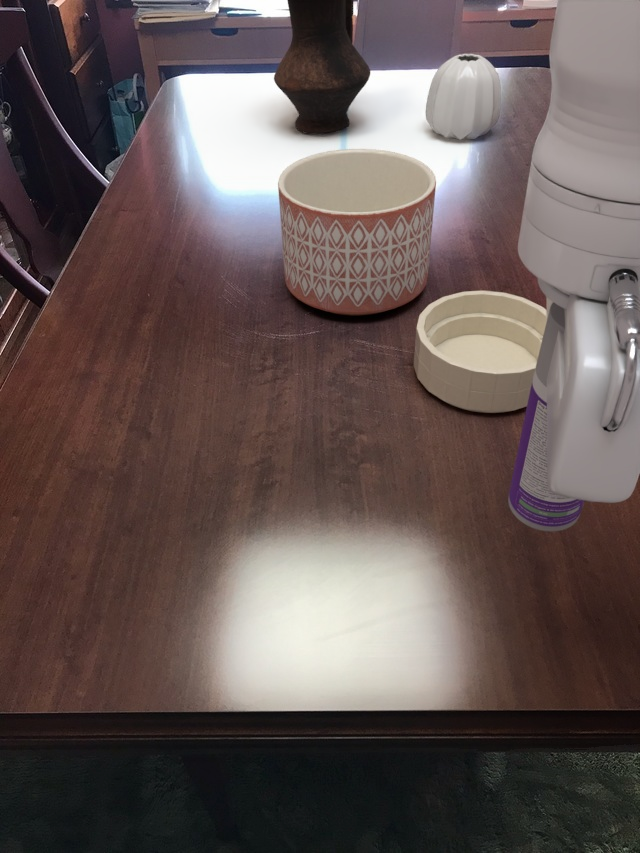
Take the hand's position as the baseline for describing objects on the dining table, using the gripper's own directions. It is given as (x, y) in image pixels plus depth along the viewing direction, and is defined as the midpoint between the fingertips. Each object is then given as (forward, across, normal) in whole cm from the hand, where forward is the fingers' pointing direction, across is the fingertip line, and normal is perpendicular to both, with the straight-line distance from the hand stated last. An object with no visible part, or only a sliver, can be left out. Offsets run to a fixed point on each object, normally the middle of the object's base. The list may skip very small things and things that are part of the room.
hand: (562, 437), depth 42 cm
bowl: (+20, +32, +5) cm, 38 cm away
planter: (+20, +48, +22) cm, 57 cm away
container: (+6, 0, 0) cm, 6 cm away
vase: (+20, +107, +13) cm, 110 cm away
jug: (+20, +107, +40) cm, 116 cm away
